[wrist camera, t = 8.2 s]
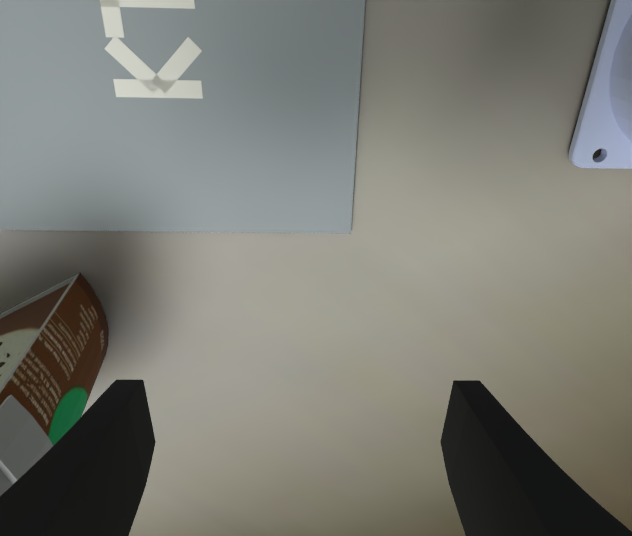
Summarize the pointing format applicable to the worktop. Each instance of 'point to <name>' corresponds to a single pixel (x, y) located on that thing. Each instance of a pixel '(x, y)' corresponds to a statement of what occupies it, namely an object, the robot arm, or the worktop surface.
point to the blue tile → (179, 115)
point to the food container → (46, 370)
